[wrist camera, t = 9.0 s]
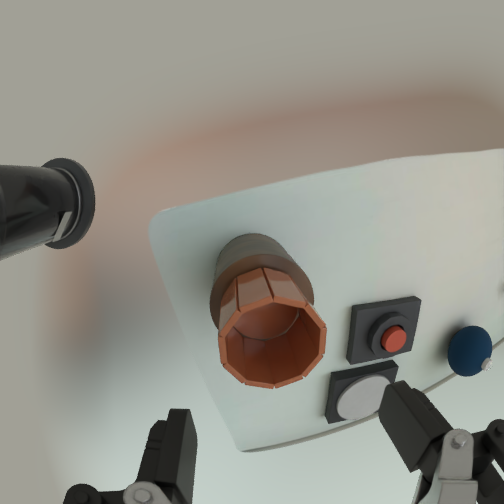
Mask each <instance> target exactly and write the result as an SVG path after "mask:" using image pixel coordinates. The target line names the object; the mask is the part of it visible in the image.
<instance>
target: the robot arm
mask: <svg viewBox="0 0 504 504" xmlns="http://www.w3.org/2000/svg"><path fill="white" fill-rule="evenodd" d="M82 211H83V194H82V190H81V187H80V184H79V182H78V180H77V178H76V177H75V176H74V175H73V174H72V173H71V172H70V171H68V170H67V169H64V168H57V167H54V168H46V167H32V166H14V165H0V260H3V259H6V258H8V257H11V256H13V255H16V254H19V253H21V252H24V251H26V250H29V249H32V248H35V247H38V246H41V245H43V244H47V243H49V242H52V241H53V242H55V241H58V240H61V239H64V238H66V237H68V236H69V235H70V234H71V233H72V232H73V231H74V230H75V229H76V227H77V226H78V224H79V221H80V219H81V215H82ZM378 414H379V419H380V422H381V423H382V425H383V427H384V429H385V430H386V432H387V433H388V435H389V437H390V438H391V440H392V442H393V444H394V445H395V447H396V449H397V451H398V452H399V454H400V456H401V457H402V459H403V461H404V463H405V464H406V466H407V468H408V470H409V471H410V473H411V472H413V471H415V470H418V469H420V470H421V474H420V476H419V480H418V483H417V487H416V491H415V494H414V497H413V501H412V504H476V501H477V502H478V504H504V481H503V479H502V478H501V476H500V475H499V473H498V472H497V470H496V469H495V468H494V466H493V465H492V461H493V460H494V459H495V461H496V462H497V463H498V465H499V466H500V467H501V469H502V470H503V472H504V420H502V419H497V420H494V421H492V422H491V423H490V424H489V425H488V427H487V429H486V430H484V431H480V432H477V433H472V434H470V433H469V432H468V431H466V430H463V429H453V428H452V427H451V425H450V424H449V423H448V422H447V420H446V419H445V418H444V417H443V416H442V415H441V413H440V412H439V411H438V410H437V409H436V408H435V407H434V405H433V404H432V403H431V402H430V400H429V399H428V398H427V397H426V395H425V394H424V393H422V392H420V391H419V390H417V389H415V388H413V389H411V388H410V387H409V385H408V384H407V383H406V382H405V381H403V380H402V381H398V382H395V383H391V384H388V385H386V387H385V390H384V393H383V397H382V400H381V404H380V407H379V412H378ZM145 447H146V449H145V450H144V454H143V457H142V461H141V465H140V469H139V472H138V476H137V479H136V481H135V482H134V483H133V484H131V485H129V486H128V487H127V488H126V489H124V490H121V491H108V492H107V491H106V492H98V491H97V490H96V489H95V488H94V487H92V486H90V485H87V484H77V485H74V486H72V487H71V488H70V489H69V490H68V491H67V493H66V496H65V499H64V502H63V504H192V497H193V485H194V475H195V474H194V473H195V464H196V454H197V433H196V429H195V426H194V422H193V419H192V415H191V412H190V409H170V411H169V414H168V418H167V421H165V420H158V421H157V422H156V423H155V424H154V425H153V427H152V428H151V429H150V432H149V436H148V441H147V443H146V446H145Z"/></svg>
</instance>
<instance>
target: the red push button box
mask: <svg viewBox="0 0 504 504" xmlns="http://www.w3.org/2000/svg"><path fill="white" fill-rule="evenodd" d="M420 305H421V299H419V298H417V297H416V296H412V297H407V298H401V299H395V300H388V301H382V302H375V303H368V304H361V305H354V306H352V316H351V326H350V334H349V343H348V351H347V358H346V359H347V360H348V362H349V363H350V365H352V364H357V363H362V362H367V361H372V360H376V359H380V358H383V359H384V358H388V357H392V356H394V355H397V354H401V353H404V352H408V351H411V349H412V345H413V341H414V336H415V332H416V327H417V322H418V316H419V311H420ZM392 326H398V327H400V328H401V329H402V330H403V331H404V332H405V333H406V341H405V343H404V345H403V346H402V347H401V348H400V349H399V350H397V351H395V352H388V351H387V350H386V349H385V348H384V347H383V346H382V344H381V338H382V335H383V333H384V332H385V331H386V330H387V329H388V328H390V327H392Z"/></svg>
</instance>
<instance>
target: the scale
mask: <svg viewBox="0 0 504 504" xmlns="http://www.w3.org/2000/svg"><path fill="white" fill-rule="evenodd" d="M397 371H398V365H397V364H396V363H395V362H394V361H393V360H390V361H386V362H381V363H377V364H373V365H368V366H364V367H359V368H354V369H349V370H344V371H339V372H333V373H331V380H330V387H329V394H328V400H327V407H326V413H325V417H326V419H327V422H328V424H330V423H335V422H340V421H344V420H356V419H361V418H364V417H367V416H369V415H371V414H372V413H376V412H379V407H380V404H381V400H382V397H383V393H384V390H385V387H386V385H388V384H391V383H394V382H395V378H396V374H397Z"/></svg>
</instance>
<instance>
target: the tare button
mask: <svg viewBox="0 0 504 504" xmlns="http://www.w3.org/2000/svg"><path fill="white" fill-rule="evenodd" d="M405 341H406V333H405V332H404V331H403V330H402V329H401V328H400V327H398V326H392V327H390V328H388V329H387V330H386V331H385V332H384V333H383V335H382V338H381V344H382V346H383V347H384V348H385V349H386V350H387V351H388V352H395V351H397V350H399V349H400V348H401V347H402V346H403V345H404V343H405Z"/></svg>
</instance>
